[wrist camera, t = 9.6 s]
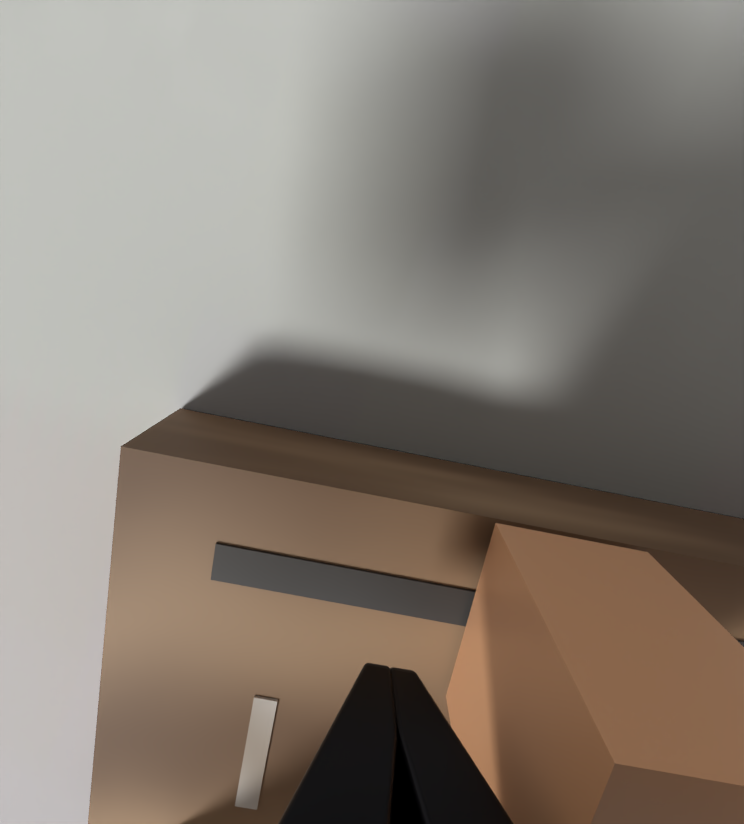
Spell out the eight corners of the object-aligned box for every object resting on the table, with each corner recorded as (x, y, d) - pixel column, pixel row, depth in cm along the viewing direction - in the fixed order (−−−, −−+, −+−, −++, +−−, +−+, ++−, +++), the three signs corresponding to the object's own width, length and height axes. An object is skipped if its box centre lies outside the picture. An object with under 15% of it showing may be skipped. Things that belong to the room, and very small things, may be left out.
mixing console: (816, 926, 17) (913, 1067, 14) (133, 815, 16) (76, 940, 13) (1020, 573, 13) (1202, 655, 10) (180, 408, 12) (119, 447, 10)
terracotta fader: (585, 720, 11) (756, 1079, 6) (445, 696, 11) (503, 1041, 6) (647, 552, 10) (913, 815, 5) (495, 522, 10) (614, 763, 5)
